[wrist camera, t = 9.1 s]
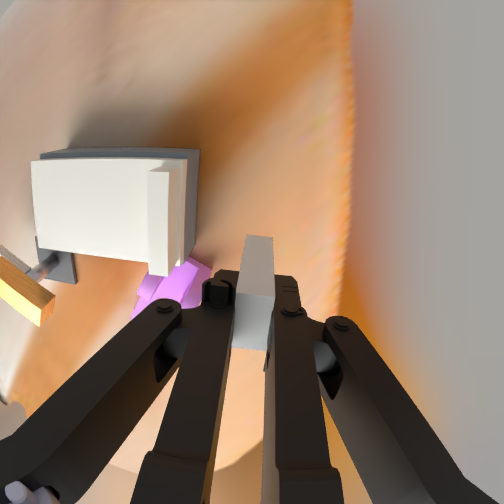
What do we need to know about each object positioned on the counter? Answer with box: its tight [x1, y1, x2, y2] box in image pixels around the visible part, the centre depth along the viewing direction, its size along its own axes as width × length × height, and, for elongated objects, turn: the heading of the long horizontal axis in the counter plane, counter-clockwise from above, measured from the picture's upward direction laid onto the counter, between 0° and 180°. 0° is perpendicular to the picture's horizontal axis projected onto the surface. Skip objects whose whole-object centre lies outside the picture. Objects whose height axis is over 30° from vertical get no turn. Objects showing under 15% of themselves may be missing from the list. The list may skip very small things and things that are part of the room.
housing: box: [35, 147, 200, 284], centre depth 29 cm, size 22×17×5 cm
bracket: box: [131, 256, 212, 320], centre depth 32 cm, size 13×6×7 cm, turn 148°
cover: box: [31, 157, 187, 277], centre depth 23 cm, size 16×9×4 cm, turn 84°
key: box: [0, 245, 59, 327], centre depth 28 cm, size 3×11×9 cm, turn 60°
